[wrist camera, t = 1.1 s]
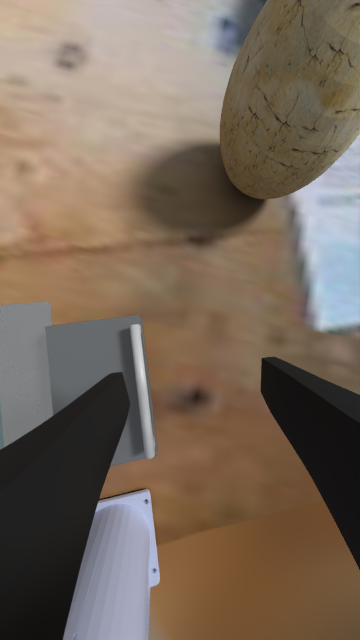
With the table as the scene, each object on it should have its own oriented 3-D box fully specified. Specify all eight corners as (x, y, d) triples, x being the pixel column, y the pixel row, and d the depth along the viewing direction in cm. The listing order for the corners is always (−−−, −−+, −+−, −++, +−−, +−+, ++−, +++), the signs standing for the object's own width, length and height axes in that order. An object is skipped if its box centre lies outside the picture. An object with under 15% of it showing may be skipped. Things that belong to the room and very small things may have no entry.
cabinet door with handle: (157, 437, 19) (156, 469, 15) (74, 455, 18) (46, 495, 14) (142, 317, 20) (138, 313, 16) (61, 326, 19) (31, 325, 14)
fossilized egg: (287, 138, 24) (495, -178, 9) (298, 223, 23) (543, 33, 8) (200, 132, 22) (280, -258, 8) (209, 224, 22) (316, -9, 7)
